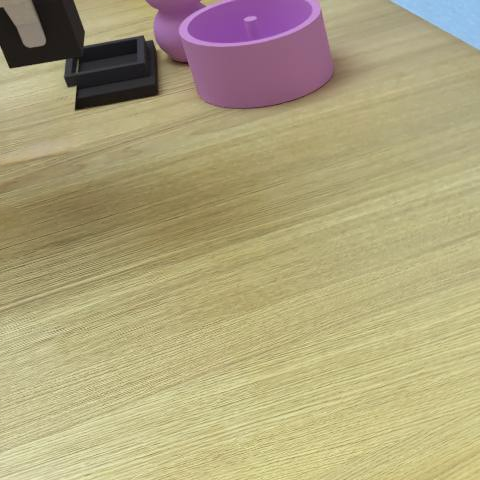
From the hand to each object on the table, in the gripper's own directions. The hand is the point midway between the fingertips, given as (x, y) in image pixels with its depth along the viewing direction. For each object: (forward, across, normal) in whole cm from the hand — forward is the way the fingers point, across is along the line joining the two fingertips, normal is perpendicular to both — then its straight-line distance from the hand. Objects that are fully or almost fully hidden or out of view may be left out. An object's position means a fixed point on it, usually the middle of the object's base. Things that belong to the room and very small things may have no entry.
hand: (39, 28), depth 89 cm
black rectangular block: (+2, 0, 0) cm, 2 cm away
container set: (+16, -26, +14) cm, 34 cm away
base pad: (+16, -30, 0) cm, 34 cm away
